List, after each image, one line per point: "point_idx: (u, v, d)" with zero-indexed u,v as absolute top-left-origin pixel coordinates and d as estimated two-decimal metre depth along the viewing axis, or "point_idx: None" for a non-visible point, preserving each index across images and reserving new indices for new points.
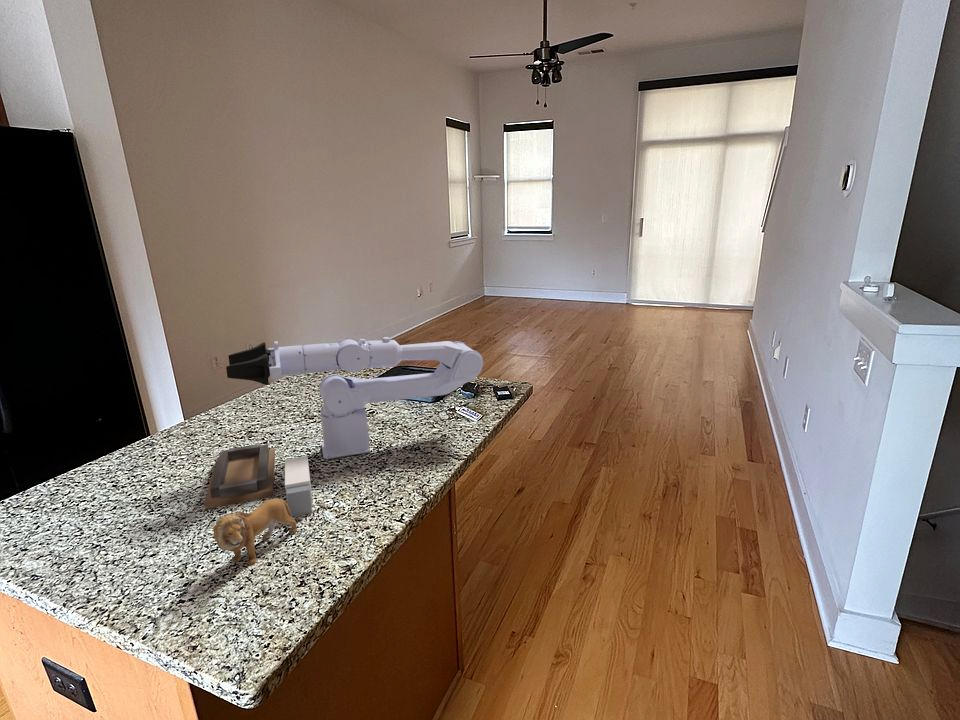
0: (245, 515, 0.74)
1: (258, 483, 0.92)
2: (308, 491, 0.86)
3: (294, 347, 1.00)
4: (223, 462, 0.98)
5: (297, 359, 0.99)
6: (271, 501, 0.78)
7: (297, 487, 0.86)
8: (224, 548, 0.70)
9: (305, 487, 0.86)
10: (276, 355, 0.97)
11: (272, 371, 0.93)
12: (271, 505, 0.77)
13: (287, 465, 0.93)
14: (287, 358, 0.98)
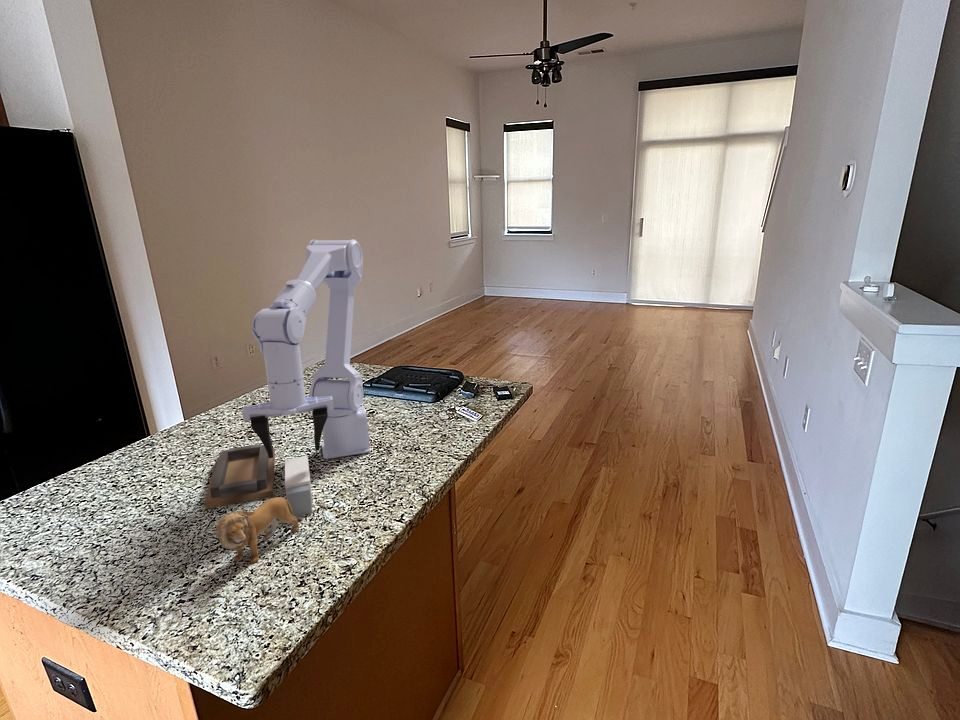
0: (248, 514, 0.75)
1: (258, 483, 0.92)
2: (308, 491, 0.86)
3: (290, 391, 0.84)
4: (223, 462, 0.98)
5: (303, 385, 0.87)
6: (273, 500, 0.78)
7: (297, 487, 0.86)
8: (227, 546, 0.70)
9: (305, 487, 0.86)
10: (308, 407, 0.87)
11: (333, 405, 0.90)
12: (274, 503, 0.78)
13: (287, 465, 0.93)
14: (303, 396, 0.87)
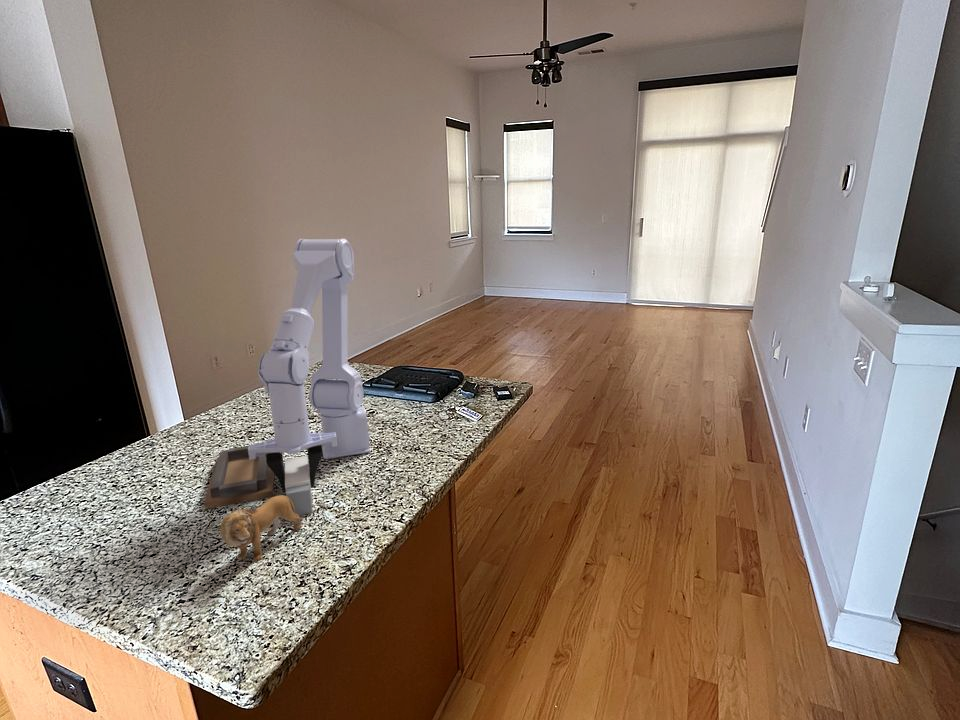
0: (251, 512, 0.75)
1: (258, 483, 0.92)
2: (308, 491, 0.86)
3: (295, 430, 0.86)
4: (223, 462, 0.98)
5: (307, 423, 0.89)
6: (276, 498, 0.79)
7: (297, 487, 0.86)
8: (231, 544, 0.71)
9: (305, 487, 0.86)
10: (312, 445, 0.89)
11: (336, 442, 0.92)
12: (276, 502, 0.78)
13: (287, 465, 0.93)
14: (308, 434, 0.89)
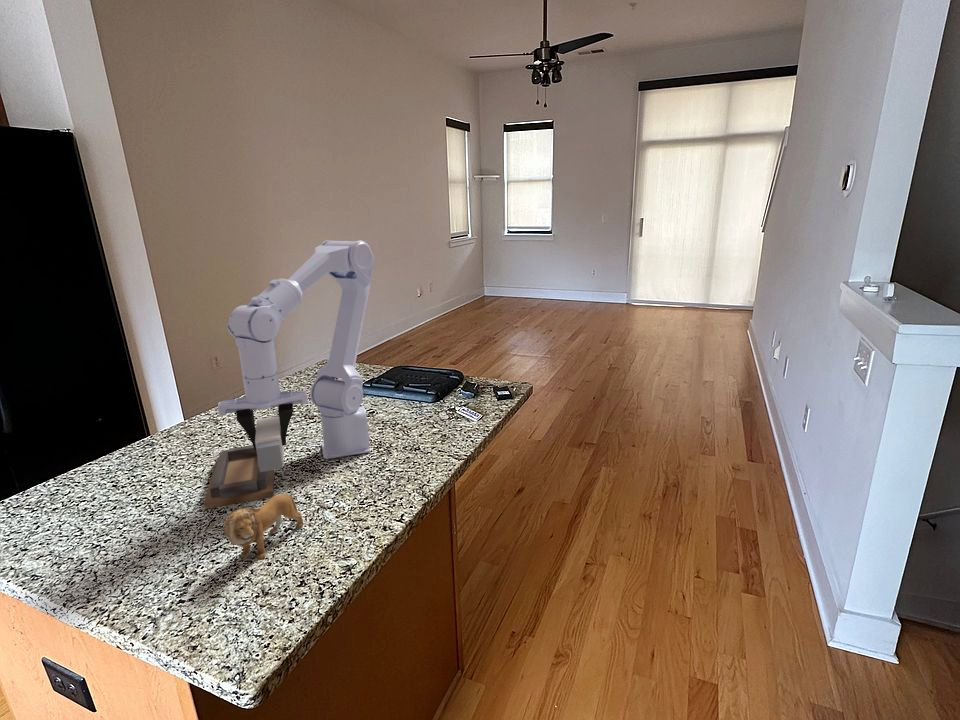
0: (254, 510, 0.75)
1: (258, 483, 0.92)
2: (278, 446, 0.86)
3: (264, 386, 0.87)
4: (223, 462, 0.98)
5: (277, 380, 0.90)
6: (278, 496, 0.79)
7: (268, 442, 0.87)
8: (235, 543, 0.71)
9: (275, 442, 0.87)
10: (282, 402, 0.90)
11: (307, 400, 0.93)
12: (279, 500, 0.79)
13: (258, 424, 0.93)
14: (278, 391, 0.90)
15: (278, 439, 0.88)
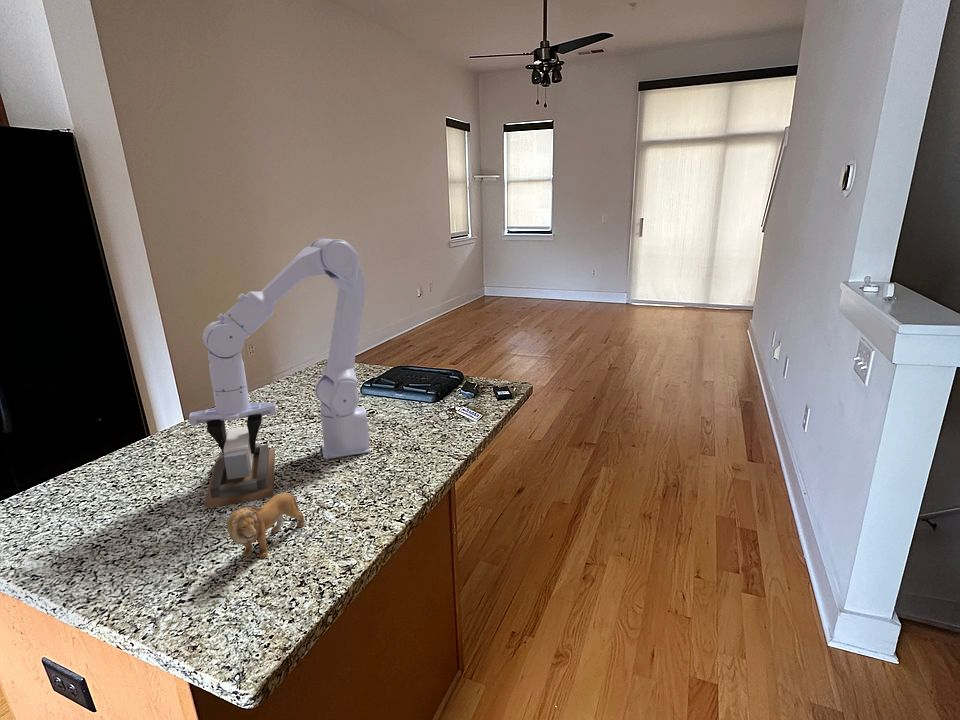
0: (256, 509, 0.76)
1: (258, 483, 0.92)
2: (245, 455, 0.91)
3: (233, 398, 0.92)
4: (223, 462, 0.98)
5: (246, 392, 0.94)
6: (280, 495, 0.80)
7: (235, 452, 0.92)
8: (238, 541, 0.71)
9: (242, 452, 0.92)
10: (250, 413, 0.94)
11: (275, 411, 0.98)
12: (281, 499, 0.79)
13: (229, 433, 0.98)
14: (246, 402, 0.95)
15: (246, 448, 0.93)
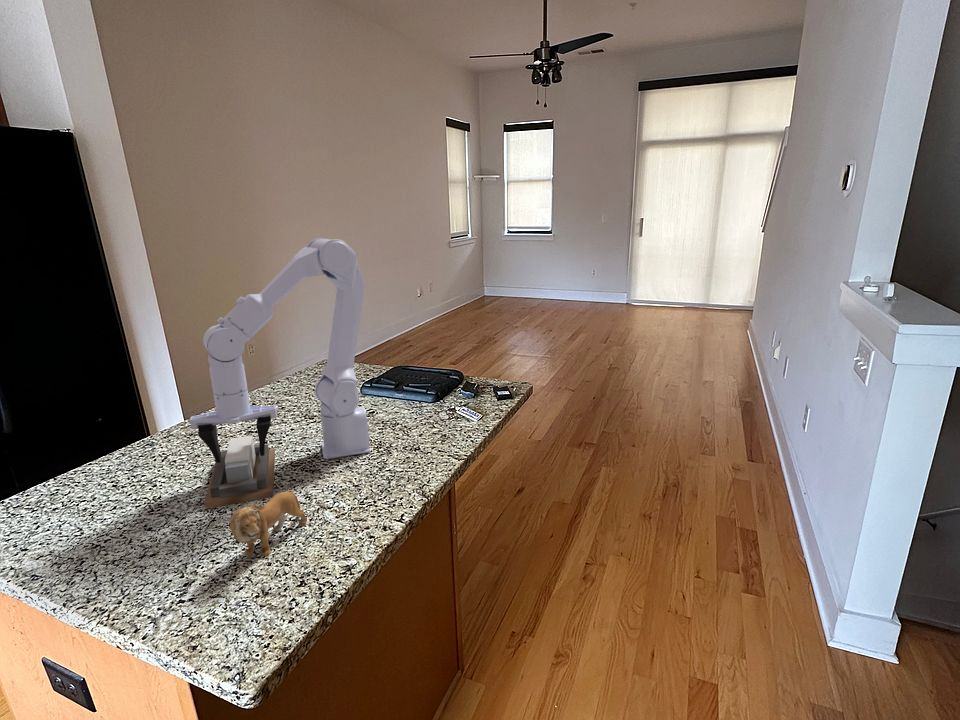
0: (258, 508, 0.76)
1: (258, 483, 0.92)
2: (246, 466, 0.92)
3: (233, 402, 0.92)
4: (223, 462, 0.98)
5: (247, 395, 0.95)
6: (282, 494, 0.80)
7: (237, 462, 0.93)
8: (241, 540, 0.72)
9: (244, 462, 0.92)
10: (251, 416, 0.95)
11: (276, 414, 0.98)
12: (283, 498, 0.79)
13: (231, 443, 0.99)
14: (247, 406, 0.95)
15: (247, 459, 0.93)
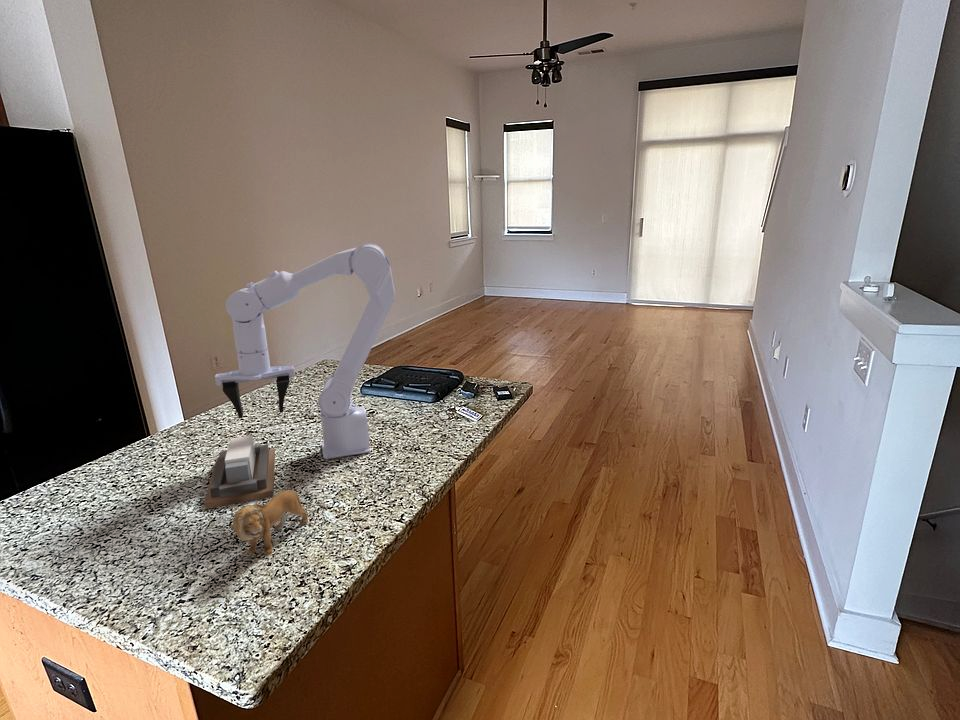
0: (261, 507, 0.76)
1: (258, 483, 0.92)
2: (246, 466, 0.92)
3: (256, 360, 0.99)
4: (223, 462, 0.98)
5: (267, 355, 1.02)
6: (284, 493, 0.80)
7: (237, 462, 0.93)
8: (244, 538, 0.72)
9: (244, 462, 0.92)
10: (271, 374, 1.02)
11: (294, 374, 1.05)
12: (285, 496, 0.80)
13: (231, 443, 0.99)
14: (268, 364, 1.02)
15: (247, 459, 0.93)
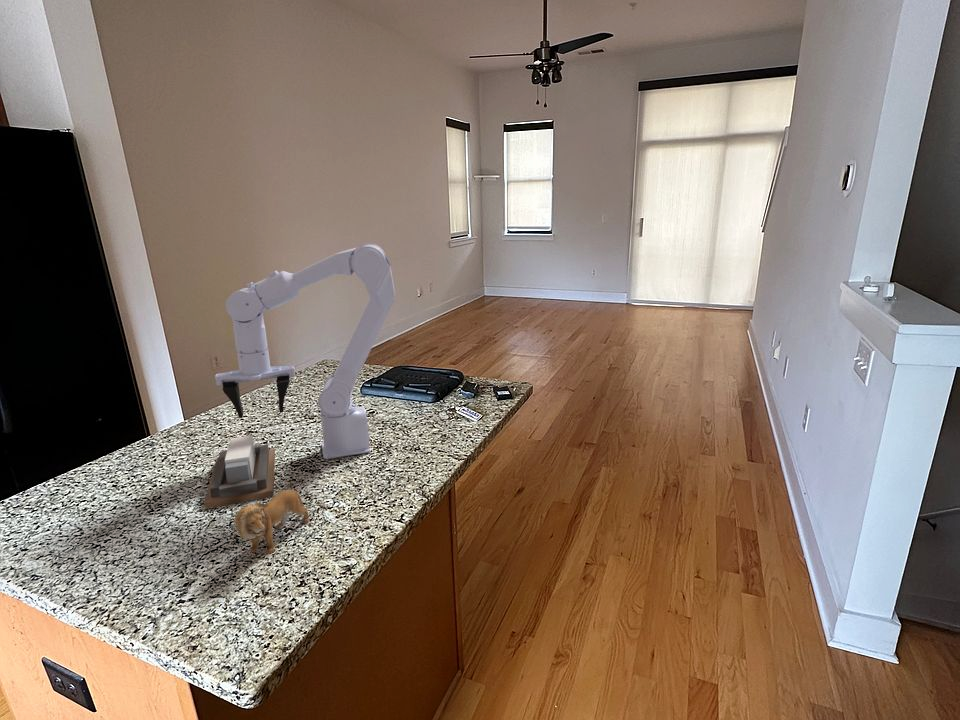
0: (263, 506, 0.77)
1: (258, 483, 0.92)
2: (246, 466, 0.92)
3: (256, 360, 0.99)
4: (223, 462, 0.98)
5: (267, 355, 1.02)
6: (285, 492, 0.81)
7: (237, 462, 0.93)
8: (246, 537, 0.72)
9: (244, 462, 0.92)
10: (272, 374, 1.02)
11: (294, 374, 1.05)
12: (286, 495, 0.80)
13: (231, 443, 0.99)
14: (268, 364, 1.02)
15: (247, 459, 0.93)
